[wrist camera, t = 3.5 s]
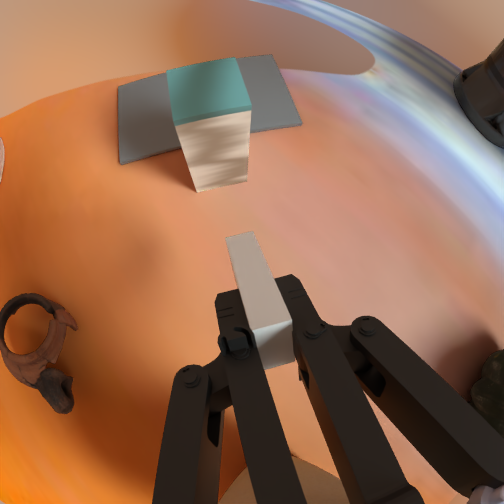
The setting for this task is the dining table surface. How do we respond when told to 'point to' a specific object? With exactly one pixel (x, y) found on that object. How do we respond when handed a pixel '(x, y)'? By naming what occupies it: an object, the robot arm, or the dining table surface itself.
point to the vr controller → (41, 353)
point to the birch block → (212, 121)
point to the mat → (160, 114)
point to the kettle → (1, 158)
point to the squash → (491, 392)
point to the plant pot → (311, 479)
